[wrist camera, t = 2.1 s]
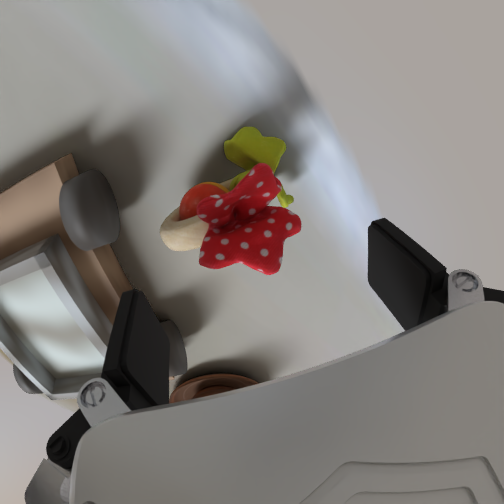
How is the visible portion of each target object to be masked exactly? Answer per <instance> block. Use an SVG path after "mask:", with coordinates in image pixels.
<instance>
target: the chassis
mask: <svg viewBox="0 0 504 504" xmlns="http://www.w3.org/2000/svg"><path fill="white" fill-rule="evenodd" d="M119 232H120V220H119V213H118V208H117V204H116V200H115V197H114V194H113V192H112V190H111V187H110V185H109V183H108V182H107V180H106V178H105V177H104V176H103V174H102V173H101V172H99V171H98V170H96V169H91V170H89V171H87V172H84V173H82V174H80V175H79V172H78V170H77V167H76V164H75V162H74V159H73V156H72V153H70V154H68V155H66V156H64V157H62V158H60V159H58V160H56V161H55V162H53V163H51V164H49V165H47V166H45V167H43V168H42V169H40V170H38V171H36V172H34V173H33V174H31V175H29V176H28V177H26V178H24V179H22V180H21V181H19V182H18V183H16V184H14V185H13V186H11V187H10V188H8V189H6V190H5V191H3V192H2V193H0V348H1V349H2V351H3V352H4V353H5V354H6V355H7V356H8V357H9V359H10V360H11V361H12V362H13V363H14V364H13V369H14V370H13V371H14V376H15V379H16V381H17V383H18V385H19V386H20V388H22V390H24V391H25V392H26V393H29V394H39V393H44V394H46V395H47V396H48V397H49V398H50V399H51V400H60V399H75V398H77V396H78V392H79V390H80V389H81V387H82V386H83V385H84V384H85V383H86V382H87V381H89V380H91V379H94V378H101V374H102V369H103V364H104V360H105V355H106V351H107V347H108V343H109V338H110V334H111V331H112V327H113V324H114V320H115V316H116V312H117V309H118V305H119V302H120V298H121V295H122V293H123V292H125V291H129V290H132V289H133V288H132V286H131V285H130V283H129V281H128V279H127V277H126V275H125V273H124V271H123V270H122V268H121V266H120V264H119V262H118V260H117V258H116V256H115V254H114V252H113V250H112V248H111V246H110V244H109V243H112V242H115V241H116V240H117V238H118V236H119ZM160 324H161V326H162V328H163V329H164V331H165V333H166V334H167V336H168V338H169V342H170V360H169V380H174V376H176V375H181V374H185V373H186V371H187V356H186V351H185V347H184V343H183V340H182V337H181V335H180V332H179V330H178V328H177V326H176V325H175V324H174V322H173V321H171V320H169V321H165V322H161V323H160Z"/></svg>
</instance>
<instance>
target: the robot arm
mask: <svg viewBox="0 0 504 504" xmlns="http://www.w3.org/2000/svg"><path fill="white" fill-rule="evenodd" d="M368 282H369V284H370V286H371V287H372V289H373V290H374V291H375V292H376V294H377V295H378V296H379V297H380V299H381V300H382V301H383V302H384V304H385V305H386V306H387V308H388V309H389V310H390V311H391V313H392V314H393V315H394V317H395V318H396V319H397V320H398V322H399V323H400V324H401V326H402V327H403V328H404V330H405V331H404V332H402V333H400V334H398V335H395V336H393V337H391V338H389V339H386V340H384V341H382V342H379V343H377V344H374V345H372V346H369V347H367V348H364V349H362V350H359V351H357V352H354V353H352V354H349V355H346V356H344V357H341V358H338V359H335V360H333V361H330V362H327V363H324V364H321V365H318V366H315V367H312V368H309V369H306V370H303V371H300V372H297V373H294V374H291V375H287V376H284V377H281V378H277V379H274V380H270V381H267V382H263V383H259V384H256V385H252V386H248V387H244V388H240V389H236V390H232V391H228V392H224V393H219V394H215V395H210V396H205V397H201V398H196V399H191V400H186V401H181V402H176V403H170V404H169V360H170V342H169V338H168V336H167V334H166V333H165V331H164V329H163V328H162V326H161V324H160V322H159V321H158V319H157V317H156V315H155V314H154V312H153V310H152V308H151V306H150V305H149V303H148V301H147V299H146V297H145V295H144V294H143V292H142V291H138V290H137V289H132V290H129V291H125V292H123V293H122V295H121V298H120V302H119V305H118V309H117V312H116V316H115V320H114V324H113V327H112V331H111V334H110V338H109V343H108V347H107V351H106V355H105V360H104V364H103V369H102V374H101V378H94V379H91V380H89V381H87V382H86V383H85V384H84V385H83V386H82V387H81V389H80V390H79V392H78V396H77V403H78V406H79V408H80V409H78V410H77V411H76V412H75V413H74V414H73V416H71V417H70V418H69V419H68V420H67V421H66V422H65V423H64V424H63V425H62V426H61V427H60V428H59V429H58V430H57V431H56V432H55V433H54V434H52V436H51V437H50V438H49V440H48V443H47V447H46V450H47V455H48V459H47V460H46V459H43V460H42V462H41V464H40V466H39V468H38V469H37V471H36V473H35V474H34V476H33V478H32V480H31V482H30V483H29V485H28V487H27V489H26V492H25V502H26V504H504V291H501V290H495V289H490V288H484V287H483V285H482V282H481V279H480V278H479V277H478V276H477V275H476V274H475V273H473V272H471V271H469V270H463V269H461V270H460V269H459V270H455V271H453V272H451V274H450V275H449V274H448V273H447V272H446V267H445V266H443V265H442V264H441V263H440V262H439V261H438V260H437V259H435V258H434V257H433V256H432V255H431V254H430V253H428V252H427V251H426V250H425V249H424V248H422V247H421V246H420V245H419V244H418V243H416V242H415V241H414V240H413V239H411V238H410V237H409V236H408V235H406V234H405V233H404V232H403V231H401V230H400V229H399V228H398V227H396V226H395V225H394V224H392V223H391V222H390V221H388V220H387V219H386V218H382V219H379V220H375V221H372V223H371V225H370V226H369V227H368Z"/></svg>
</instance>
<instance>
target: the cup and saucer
mask: <svg viewBox="0 0 504 504" xmlns="http://www.w3.org/2000/svg"><path fill="white" fill-rule="evenodd" d="M256 384H259V383H257V382H256V381H254V380H252V379H249V378H247V377H244V376H240V375H234V374H210V375H204V376H200V377H196V378H193V379H191V380H188V381H186V382H185V383H183V384H181V385H180V386H178V387H177V388H176V389H175V390H174V391H173V392H172V394H171V396H170V399H169V404H170V403H176V402H181V401H186V400H191V399H196V398H201V397H205V396H210V395H215V394H219V393H224V392H228V391H232V390H236V389H240V388H244V387H248V386H252V385H256Z"/></svg>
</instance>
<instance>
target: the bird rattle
mask: <svg viewBox="0 0 504 504" xmlns="http://www.w3.org/2000/svg"><path fill="white" fill-rule="evenodd" d="M285 151H286V144H285V143H284V141H283V140H281V139H279V138H276V137H263V136H262V135H261V133H260V131H259V130H258V129H256V128H255V127H243V128H241V129H240V130H239V131H238V132H237V133H236V135H235V136H234V137H233V138H232V139H231V140H226V141H225V142H224V152H225V155H226V158H227V159H228V160H230V161H231V162H233V163H235V164H236V165H238V166H240V167H242V168H243V169H245V170H246V171H245V172H242V173H240V174H238V175H237V176H236V177H235V178H232V179H230V180H227V181H224V182H222V183H219V184H218V183H215V182H204V183H200V184H197V185H195V186H194V187H192V188H191V189H190V190H189V191H188V192H187V193H186V194H185V195H184V197H183V198H182V201H181V203H180V206H179V207H178V208H177V209H175V210H174V211H173V212H172V213H171V214H170V215H169V216H168V217H167V218H166V219H165V220H164V222H163V223H162V225H161V228H160V235H161V238H162V240H163V241H164V243H165V244H166V245H167V247H168V248H170V249H172V250H174V251H186V250H192V249H196V248H199V247H201V249H200V256H199V258H200V259H199V264H200V265H202V266H204V267H207V268H210V269H220V268H223V267H226V266H229V265H232V264H234V263H243V264H245V265H247V266H249V267H251V268H252V269H255V270H257V271H259V272H262V273H264V274H266V275H271V274H274V273H276V272H278V271H279V269H280V266H281V263H282V256H283V245H284V241H285V239H286V238H287V237H290V236H292V235H294V234H296V233H298V232H300V231H301V220H300V218H299V216H298V215H296V214H294V213H293V212H291V211H290V210H288V209H286V208H285V207H288V204H291V203H292V202H293V201H294V198H293V196H291V195H286V193H285V191H284V189H283V186H282V184H281V182H280V181H279V180H278V179H277V178H276V177H275V176H274V173H275V171H276V169H277V166H278V164H279V161H280V158H281V156H282V155H283V153H284V152H285ZM276 196H277V197H278V200H279V202H280V204H281V206H282V207H275V206H267V205H268V204H269V203H270V202H271V200H272V199H274V198H275V197H276Z"/></svg>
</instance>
